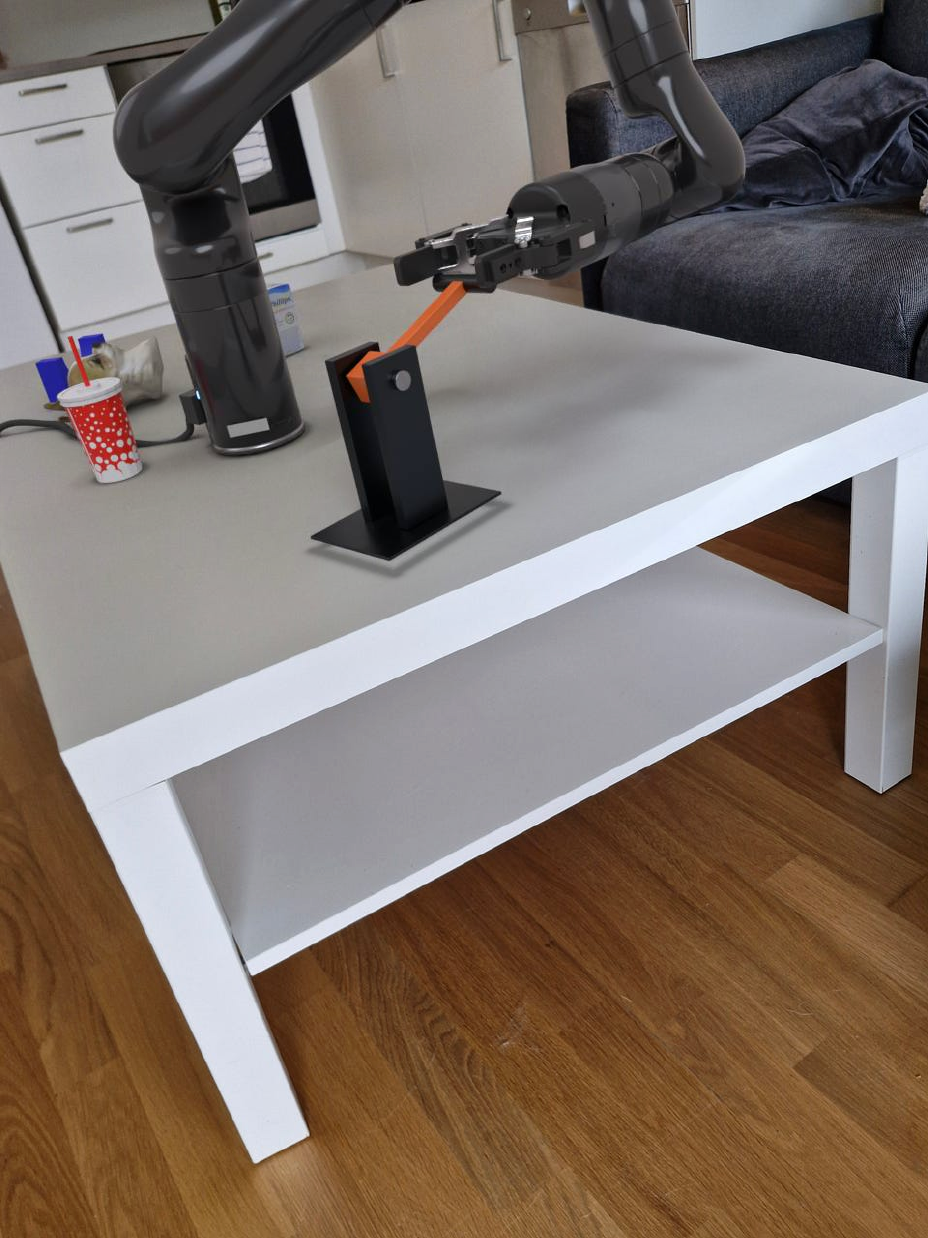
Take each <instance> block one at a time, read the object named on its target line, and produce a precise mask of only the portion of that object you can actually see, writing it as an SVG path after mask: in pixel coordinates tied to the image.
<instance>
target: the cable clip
mask: <svg viewBox="0 0 928 1238" xmlns="http://www.w3.org/2000/svg"><path fill="white" fill-rule="evenodd" d="M77 342H78V345H79V350H80V358H82V357H85V356H88V355H92V343H94V342H100V343H102V342H105V343H107V341H106V339H105V336H104V334H103V333H95V334H89V335H82V336H81V337H79V338H77ZM34 365H35V366H36V370H37V373H38V375H39V377H40V380H41V382H42V385H43V387H44V390H45V393H46V395H47V398H48V401H49V403H55V402H56V401H57V400H58V399H57V396H58V394H59V393H61V392H62V391H63V390H65V389H68V388H69V387H68V384H67V375H68V371H69V368H68V366H67V365H66V363H65V361H64V359H63V356H59V357H58V356H57V357H51V358H43V359H40V360H39V361H37V362H35V363H34Z"/></svg>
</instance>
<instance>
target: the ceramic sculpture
mask: <svg viewBox="0 0 928 1238" xmlns="http://www.w3.org/2000/svg"><path fill="white" fill-rule="evenodd" d="M80 358H81V357H80ZM81 361H82V364H83V366H84V369H85V372H86V375H87V377H88V380H89V381H91V380H96V379H101V378H118V379H120V380H121V385H122V390H121V393H122V396H123V400H124V403H125V407H126V408H127V407H128V406H129V405H130V404H132V403H133V402H135V401H137V400H140V399H148V400H153V401H155V400H159V399H160V398H161V396H162V394H163V374H164V369H165V367H164V362H163V358H162V354H161V349H160V347H159V341H158V339H157V337H156V335H153V334H152V335H150V336H149V337H148V339H147V338H146V339H145V340H144V341H142V342H139V344H138V345H136V346H135V347H134V348H131V349H122V348H120V347H118V346H117V344H114V343H111V342H110V343H107V342H106V343H105V342H102V343H100V342H94V343H92V355H88V356H85V357H82V358H81ZM68 370H69V371H68V375H67V384H68V387H69V388H70V387H72V386H75V385H78V384H81V383H84V381H83V378H82V376H81V373H80V370H79V368H78V365H77V362H76V360H74V361H73V363H72V364H71V366H70V367H69V368H68ZM42 406H43V408H44V409H46V410H51V411H58V412H65V413H64V414H63V415H61V416H59V417H57V419H56V421H58V422H63V423H66V424H67V423H71V421H70V419H69V417H68V415H67V412H66V410H65V408H64V407H63V406H61V405H60V401H59V400H57V401H56V402H55V403H50V402H46V403H44V404H43V405H42Z"/></svg>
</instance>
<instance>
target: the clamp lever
mask: <svg viewBox="0 0 928 1238" xmlns="http://www.w3.org/2000/svg"><path fill="white" fill-rule="evenodd" d="M431 283H432V284H431V285H432V288H433V290H434V291H435V292H437V293H439V296H438V297H437V298H436V299H435V300H433V302H432V303H431V304H430V305H428V307H427V308H426V309H425V310H424V311H423V312H422V313H421V314H420V316H419V317H418V318H417V319H416V320H415V321H414V322H413V323H412V324H411V325H410V326H409V327H408V328H407V329H406V330H405V331H404V332H403V334H402V335H401V336H399V338H398V339H397V340H396V341H394V343H393V344H392V345H391V346H390V347H389V348H388V349H387V351H386V352H384V351H380V352H374V351H369V352H368V353H367V354H366V355H365V357H364V358H363V359H362V360H361V361H360V362H359V363H358V364H357V365H356V366H355V367H354V368H353V369H352V370H351V371H350V372H349V373H348V374H347V378H348V380H349V382H350V383H351V385H352V387H353V388H354V390H355V391H356V393H357V395H358V396H359V398H360V400H361V401H362V402H368V403H370V400H369V396H368V392H367V387H366V383H365V379H364V374H363V370H362V366H361V365H362V364H363V363H366V362H368V361H370V360H372V359H375V358H377V357H379V356H382V355H384V354H386V353H388V352H391V351H393V350H395V349H397V348H400V347H402V346H404V345H415V346H416V349H417V348H418V347H419V346H420V345H421V343H423V341H424V340H425V339H426V338H427V337H428V336H429V335H430V334H431V333H432V332H433V330H435V328H436V327H437V326H438V325H439V324H440V323H441V322H442V321H443V320H444V319H445V318H446V317H447V316H448V314H449V313H450V312H451V311H452V310H453V309H454V308H455V307H456V306H457V305H458V304H459V302H460V301H461V300H462V299H463V298H464V297H465V296H466V295H467V294H487V295H488V294H493V293H495V291H496V289H497V287H498V285H495V286H493V287H491V288H480V287H479V286H478V284H477V279H476V273H461V272H448V273H436V274H435V275H434V276H433V277H432V280H431Z"/></svg>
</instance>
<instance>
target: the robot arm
mask: <svg viewBox="0 0 928 1238" xmlns="http://www.w3.org/2000/svg"><path fill="white" fill-rule="evenodd" d="M411 1H412V0H239V1H238V2H237V4H236V5H235V6H234V7H233V8H232V9H231V11H230V12H229V13H228V14H227V15H226V16H225V17H224V19H222V21H220V22H219V23H218V24H217V25H216V26H215V27H214V28H213V29H212V30H211V31H209V32H208V33H207V34H206V35H204V36H203V37H202V38H201V39H200V40H198V41H197V42H195V44H193V45H191V47H189V48H188V49H186V50H185V51H184V52H182V53H181V54H180V55H179V56H177V57H176V58H175V59H174V60H172V61H170V62H169V63H168V64H166V65H165V66H163V67H162V68H161V69H159V70H158V71H157V72H155V73H153V74H152V75H151V76H149V77H148V78H146V79H144V80H143V81H141V82H139V83H137V84H136V85H135V86H133V87H131V88H130V89H129V90H128V91H127V92H126V94H125V95H124V96H123V97H122V98H121V100H120V102H119V104H118V106H117V107H116V111H115V113H114V118H113V120H112V121H113V123H112V143H113V149H114V152H115V156H116V159H117V160H118V163H119V165H120V166H121V168H122V169H123V171H124V172H125V174H126V175H127V176H128V177H129V178H130V179H131V180H132V181H134V183H136V184H137V185H138V186H139V190H140V193H141V198H142V200H143V204H144V207H145V210H146V214H147V217H148V221H149V226H150V231H151V236H152V237H151V238H152V244H153V245H152V246H153V253H154V258H155V261H156V265H157V267H158V270H159V273H160V277H161V278H162V282H163V286H164V289H165V292H166V295H167V299H168V302H169V305H170V308H171V311H172V314H173V318H174V320H175V323H176V327H177V330H178V333H179V336H180V340H181V342H182V346H183V350H184V352H185V354H184V362H185V364H186V367H187V370H188V374H189V377H190V380H191V384H192V386H193V389H189V390H188V391H185V392H182V393H180V394H178V398H179V400H180V403H181V407H182V410H183V413H184V416H185V418H184V419H185V427H186V429H185V430H184V431H183V432H182V433H181V434H180V435H178V436H177V437H175V438H172V439H168V440H162V441H152V440H142V439H135V442H136V445H137V448H148V447H156V446H162V445H170V444H174V443H175V444H176V443H182V442H186V441H187V440H189V439H190V438H192V436H193V434H194V433H195V425H196V426H202V425H205V427H206V430H207V434H208V437H209V440H210V443H211V444H212V446H213V448H214V449H213V450H214V451H215V452H216V453H217V454H219V455H225V456H243V455H251V454H255V453H261V452H265V451H268V450H271V449H275V448H278V447H280V446H282V445H286V444H287V443H289V442H290V441H293V440H294V439H296V438H298V437H299V436H300V435H301V434H302V433H304V431H305V428H306V427H305V426H306V425H305V422H304V419H303V418H302V415H301V412H300V407H299V404H298V400H297V396H296V392H295V388H294V385H293V380H292V376H291V373H290V369H289V366H288V362H287V358H286V357H285V354H284V350H283V347H282V343H281V339H280V335H279V332H278V328H277V324H276V320H275V317H274V313H273V309H272V306H271V302H270V298H269V294H268V291H267V287H266V284H267V283H266V280H265V276H264V273H263V269H262V265H261V262H260V258H259V256H258V255H259V253H258V251H257V246H256V243H255V242H256V241H255V239H254V234H253V233H254V232H253V228H252V223H251V222H252V221H251V217H250V213H249V208H248V204H247V200H246V198H245V194H244V190H243V189H244V188H243V186H242V182H241V177H240V174H239V169H238V166H237V162H236V159H235V157H236V156H235V154H234V150H235V148H236V147H237V146H238V145H239V144H240V142H241V141H242V140H243V139H244V138H245V137H246V136H247V135H248V134H249V133H250V132H251V131H252V129H253V128H254V127H255V126H256V125H257V124H258V123H259V122H260V121H261V120H262V119H263V118H264V117H265V116H266V115H267V114H268V113H270V111H271V110H272V109H273V108H274V107H276V106H277V105H278V104H279V103H280V102H282V100H284V99H285V98H286V97H288V96H290V94H292V93H293V92H294V91H296V90H298V89H299V88H301V87H302V86H304V85H305V84H307V83H309V82H310V81H312V80H313V79H314V78H316V77H319V75H320V74H322V73H325V71H327V70H328V69H330V68H331V67H333V66H335V64H337V63H338V62H339V61H341V60H342V59H344V58H345V57H346V56H348V55H349V54H350V53H352V52H353V51H354V50H356V49H357V48H358V47H359V46H361V45H362V44H363V43H364V42H366V41H367V40H368V39H370V38H371V37H372V36H373V35H375V34H376V33H377V32H378V31H379V30H380V29H381V28H383V26H385V24H387V23H388V22H389V21H390V20H391V19H392V18H394V17H395V16H396V15H397V14H398V13H399V12H400V11H402V10H403V8H404V7H405V6H407V5H408V4H409V3H410V2H411ZM582 4H583V6H584V9H585V12H586V15H587V18H588V20H589V24H590V27H591V30H592V32H593V36H594V38H595V41H596V44H597V47H598V50H599V53H600V56H601V58H602V62H603V65H604V67H605V71H606V73H607V76H608V78H609V81H610V84H611V87H612V89H613V92H614V95H615V98H616V101H617V104H618V106H619V108H620V111H621V112H622V114H623V115H624V116H625V117H626V118H628V119H630V120H643V119H647V118H651V117H660V118H661V119H663V120H664V121H665V122H666V123H667V124H668V126H669V127H670V128H671V129H672V130H673V132H674V133H675V135H674V136H672V137H669V138H668V139H666V140H663V141H661V142H658V143H657V144H655V145H653V146H651V147H649V148H646V149H644V150H642V151H640V152H639V151H638V152H629V153H623V154H620V155H616V156H615V157H611V158H609V159H606V160H602V161H599V162H596V163H589V164H588V163H587V164H581V165H579V166H575V167H573V168H570V169H567V170H564V171H561V172H557V173H554V174H552V175H549V176H547V177H544V178H541V179H538V180H535V181H532V182H530V183H527V184H525V185H523V186H522V187H520V188H519V189H518V190H517V191H516V192H515V193H514V194H513V196H512V197H511V199H510V201H509V204H508V206H507V209H506V212H505V214H500V215H496V216H490V217H488V218H487V219H486V220H485V221H484V222H479V223H474V224H473V223H468V222H463V223H461V224H460V225H457V226H454V227H451V228H447V229H446V230H442V231H439V232H437V233H434V234H431V235H427V236H424V237H419V238H418V239H417V240H416V239H415V241H414V247H415V249H414V250H410V251H407V252H405V253H403V254H400V255H397V256H396V257H394V259H393V268H394V274H395V278H396V282H397V284H398V286H400V287H411V286H412V285H416V284H417V283H421V282H422V281H426V280H428V279H430V278H433V277H434V275H435V274H436V273H454V272H457V271H458V272H459V273H476V279H477V284H478V286H479V287H480V288H491V287H493V286H495V285H497V286H498V285H499V284H503V283H504V282H505V283H506V282H508V281H509V280H512V279H514V278H517V277H524V278H530V277H531V276H532V277H534V278H536V279H539V280H544V281H550V280H551V281H553V280H557V279H559V278H562V277H565V276H566V275H569V274H571V273H574V272H576V271H578V270H580V269H583V268H585V267H587V266H589V265H591V264H594V263H596V262H599V261H601V260H603V259H606V258H607V257H610V256H611V255H613V254H614V253H616V252H617V251H618V250H619V249H621V248H622V247H626V246H627V245H630V244H632V243H634V242H636V241H638V240H641V239H643V238H645V237H647V236H649V235H651V234H652V233H654V232H655V231H657V230H659V229H662V228H665V227H667V226H670V225H672V224H673V225H674V224H676V223H678V222H681V221H684V220H686V219H688V218H691V217H693V216H695V215H698V214H701V213H703V212H705V211H708V210H711V209H714V208H716V207H718V206H722V205H724V204H726V203H727V202H730V201H732V200H733V199H734V198H735V197H736V196H737V195H738V194H739V192H740V191H741V189H742V187H743V185H744V181H745V178H746V168H747V167H746V165H747V163H746V155H745V150H744V146H743V144H742V141H741V139H740V136H739V135H738V133H737V132H736V130H735V128H734V126H733V125H732V123H731V122H730V120H729V119H728V117H727V116H726V115H725V113H724V112H723V110H722V109H721V107H720V106H719V104H718V102H716V100H715V98H714V97H713V95H712V93H711V92H710V90H709V89H708V87H707V85H706V84H705V82H704V80H703V79H702V77H701V76H700V74H699V73H698V71H697V69H696V68H695V65H694V63H693V60H692V56H691V54H690V52H689V48H688V45H687V41H686V39H685V35H684V32H683V29H682V26H681V23H680V20H679V17H678V14H677V12H676V8H675V5H674V3H673V0H582ZM474 257H475V258H474ZM471 258H474V260H473V263H470V261H469V260H470V259H471ZM13 427H38V428H55V429H60V430H63V431H64V432H65V433H66V434H68V436H70V437H73V438H75V439H78V437H77V434H76V432H75V430H74V428H73V427H71V426H70V425H68V424H67V423H63V422H58V421H57V420H46V419H44V420H43V419H30V418H29V419H28V418H20V419H18V418H17V419H9V420H6V421H3V422H1V423H0V434H1V433H2V432H3V431H5V430H7V429H9V428H13Z"/></svg>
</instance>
